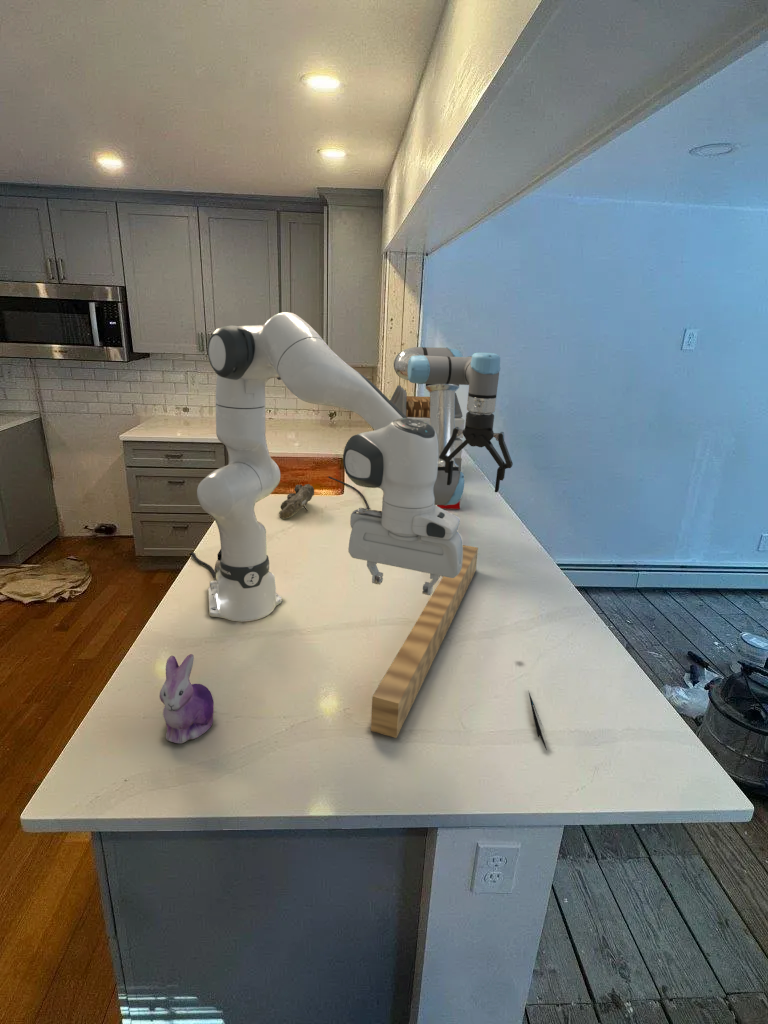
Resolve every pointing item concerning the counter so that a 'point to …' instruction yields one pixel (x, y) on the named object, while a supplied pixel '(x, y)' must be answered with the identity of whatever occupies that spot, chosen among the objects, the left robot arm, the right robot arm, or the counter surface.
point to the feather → (536, 721)
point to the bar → (419, 650)
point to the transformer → (426, 413)
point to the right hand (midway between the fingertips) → (472, 487)
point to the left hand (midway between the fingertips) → (402, 588)
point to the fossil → (296, 500)
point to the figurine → (185, 702)
